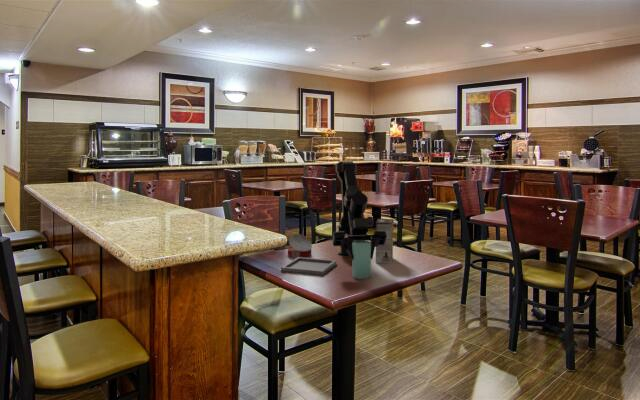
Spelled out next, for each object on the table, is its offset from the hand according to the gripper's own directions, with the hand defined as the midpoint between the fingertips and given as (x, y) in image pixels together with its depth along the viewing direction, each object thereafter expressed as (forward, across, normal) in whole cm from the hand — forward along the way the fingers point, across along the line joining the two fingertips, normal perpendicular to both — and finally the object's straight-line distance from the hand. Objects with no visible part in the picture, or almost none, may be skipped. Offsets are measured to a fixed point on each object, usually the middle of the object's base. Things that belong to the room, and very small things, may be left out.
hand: (362, 258), depth 159 cm
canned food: (-19, -20, +29) cm, 40 cm away
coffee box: (-11, +13, +20) cm, 26 cm away
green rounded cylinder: (+4, 0, +6) cm, 7 cm away
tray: (-5, -17, +14) cm, 23 cm away
